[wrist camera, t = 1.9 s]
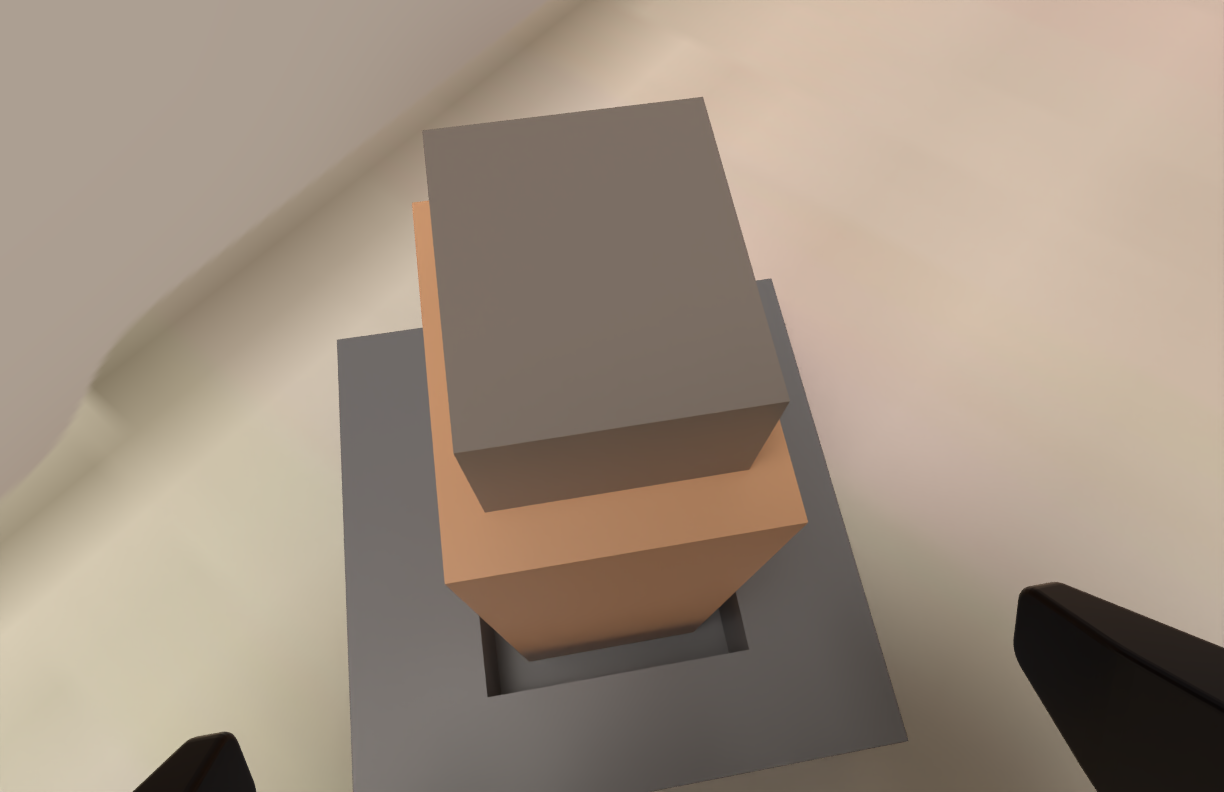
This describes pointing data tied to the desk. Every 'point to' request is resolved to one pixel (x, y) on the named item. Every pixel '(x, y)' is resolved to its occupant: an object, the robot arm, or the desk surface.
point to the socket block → (593, 680)
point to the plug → (597, 377)
